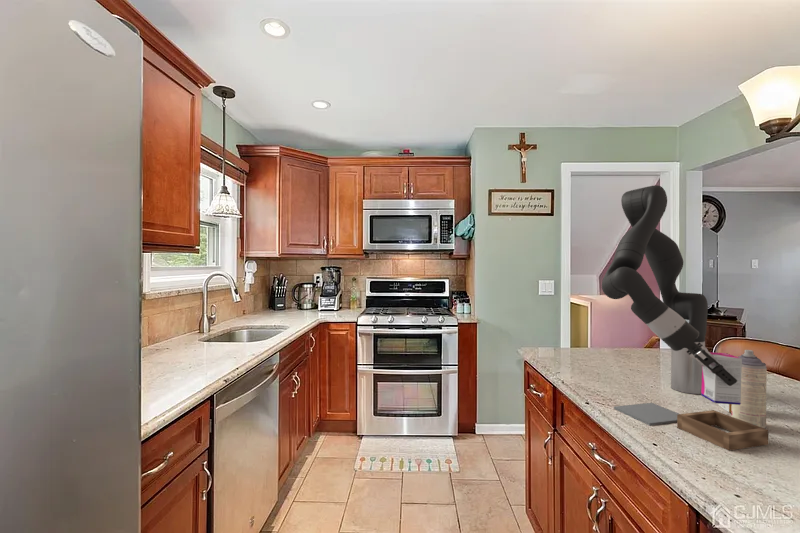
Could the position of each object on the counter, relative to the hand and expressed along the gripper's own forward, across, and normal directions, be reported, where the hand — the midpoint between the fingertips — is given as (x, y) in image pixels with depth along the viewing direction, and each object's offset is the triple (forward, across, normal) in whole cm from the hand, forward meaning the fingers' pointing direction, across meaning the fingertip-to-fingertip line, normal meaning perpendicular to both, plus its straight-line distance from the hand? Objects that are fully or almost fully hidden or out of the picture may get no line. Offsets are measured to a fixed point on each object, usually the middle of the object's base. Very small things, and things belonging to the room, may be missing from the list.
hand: (728, 379), depth 93 cm
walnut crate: (+9, 0, +11) cm, 15 cm away
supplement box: (+3, 0, +5) cm, 6 cm away
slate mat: (-1, +8, +21) cm, 22 cm away
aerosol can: (+15, +11, +6) cm, 20 cm away
